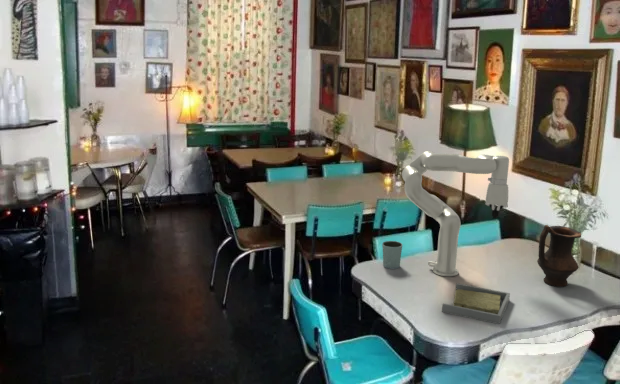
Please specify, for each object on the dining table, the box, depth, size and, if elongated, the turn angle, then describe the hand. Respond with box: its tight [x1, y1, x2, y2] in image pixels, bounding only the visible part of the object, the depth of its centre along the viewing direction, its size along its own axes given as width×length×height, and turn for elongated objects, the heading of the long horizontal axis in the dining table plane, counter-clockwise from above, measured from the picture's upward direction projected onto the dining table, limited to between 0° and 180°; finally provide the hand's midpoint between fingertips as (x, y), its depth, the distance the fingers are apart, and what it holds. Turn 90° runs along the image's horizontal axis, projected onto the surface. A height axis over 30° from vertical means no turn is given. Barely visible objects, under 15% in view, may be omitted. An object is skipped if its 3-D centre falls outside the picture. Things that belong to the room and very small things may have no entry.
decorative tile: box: [453, 289, 501, 314], centre depth 272 cm, size 19×20×4 cm
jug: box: [536, 224, 582, 288], centre depth 296 cm, size 21×18×30 cm
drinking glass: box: [382, 240, 403, 270], centre depth 316 cm, size 10×10×12 cm
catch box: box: [441, 282, 511, 325], centre depth 271 cm, size 24×27×4 cm
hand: (495, 217), depth 304 cm, fingers closed
